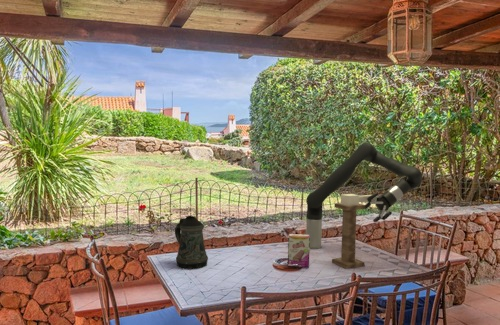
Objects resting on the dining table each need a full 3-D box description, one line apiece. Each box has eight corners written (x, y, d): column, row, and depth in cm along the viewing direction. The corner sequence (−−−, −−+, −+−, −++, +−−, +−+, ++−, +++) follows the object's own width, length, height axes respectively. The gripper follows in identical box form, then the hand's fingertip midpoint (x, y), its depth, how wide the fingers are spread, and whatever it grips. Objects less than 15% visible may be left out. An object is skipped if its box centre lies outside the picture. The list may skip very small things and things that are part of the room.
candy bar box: (287, 267, 229) (288, 235, 228) (287, 264, 234) (288, 233, 233) (309, 268, 228) (310, 236, 227) (309, 265, 233) (309, 234, 232)
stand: (346, 268, 227) (347, 206, 225) (331, 262, 238) (333, 203, 236) (364, 266, 233) (366, 205, 230) (349, 259, 243) (351, 201, 241)
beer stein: (202, 270, 222) (202, 221, 220) (165, 267, 226) (165, 219, 224) (211, 261, 238) (212, 214, 236) (177, 258, 242) (177, 213, 240)
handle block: (348, 205, 229) (348, 196, 228) (340, 203, 234) (341, 194, 234) (378, 203, 238) (378, 193, 237) (370, 201, 243) (370, 192, 243)
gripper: (396, 205, 240) (373, 224, 237) (381, 184, 238) (358, 203, 236) (403, 207, 232) (380, 226, 230) (387, 185, 231) (364, 204, 228)
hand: (369, 214), depth 233 cm, fingers open, 8 cm apart
